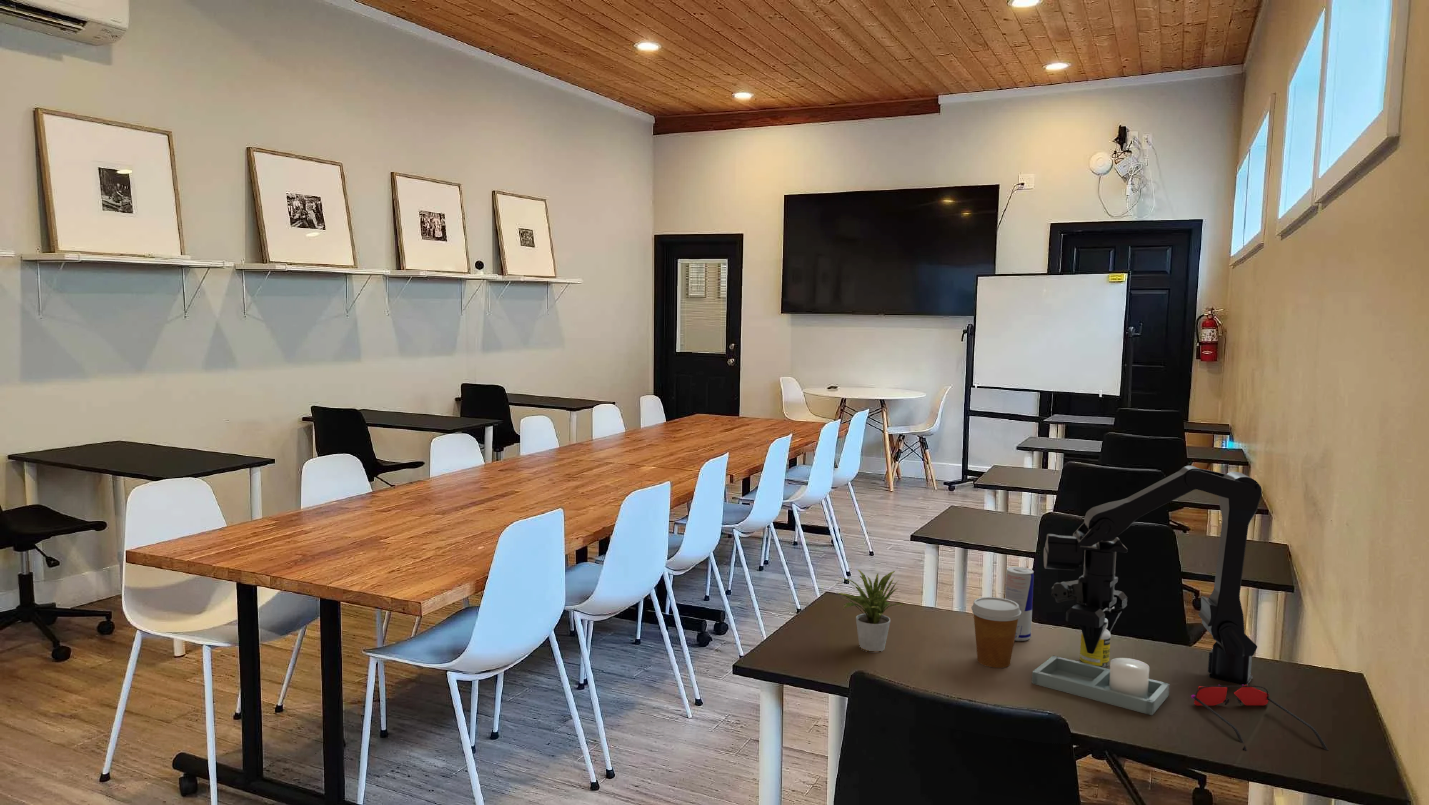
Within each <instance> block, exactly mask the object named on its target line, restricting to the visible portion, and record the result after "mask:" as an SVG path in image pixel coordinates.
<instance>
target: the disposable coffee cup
mask: <svg viewBox="0 0 1429 805" xmlns="http://www.w3.org/2000/svg"><path fill="white" fill-rule="evenodd" d="M972 603H973V604H972V605H971V611H972V614H973V625H974V633H975V634H974V635H975V636H974V637H975V645H976V657H977V662H978V663H979V664H981V665H983V666H986V667H989V668H995V669H997V668H998V669H1002V668H1003V669H1004V668H1007V667H1010V665H1011V662H1012V661H1011V660H1012V656H1013V650H1014V644H1015V634H1016V629H1017V623H1018V618H1019V617H1020V615H1021V611H1020V609H1019V605H1018V604H1017V603H1016V602H1014V601H1011V600H1008V599H1005V597H1004V598H1003V597H994V596H984V597H979V598H976V599H974V600H973V602H972Z"/></svg>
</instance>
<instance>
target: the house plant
mask: <svg viewBox="0 0 1429 805" xmlns="http://www.w3.org/2000/svg"><path fill="white" fill-rule="evenodd" d="M856 570H857V571H858V572H859V574H860V575H859V577H860V579H861V580H862V582H863V586H864V589H865V591H866V593H867V594H866V593H865V592H864V590H863V589H862V588H861V586H859V585H858V584H857V582H855V581H853V580H852V579H849V578H845V577H840V576H839V578H840V579H843V580H847V583H849V584H850V583H851V586H853V587H855V589H856V590H857V591H858V593H859V595H856V596H855V595H853V594H850V593H844V592H837V594H838V595H840V596H843V597H844V599H845V600H847V601H849V602H845V603H844V604H843V609H847V608H850V607H854V606H855V608H856V609H858V610H859V611H860V612H861V614H857V615H856V616H855V622H856V628H857V629H856V630H857V637H858V645H860V646H859V648H860V647H861V648H863V649H866V650H869V651H881V652H883V650H884V651H885V647H886V643H887V638H888V634H889V631H890V630H889V629H890V624H891V618H890V617H889V616H887V615H885V614H884V612H885V611H886V610H888V609H889V608H890V607H892V606H896V605H900V606H903V603H894V604H891V602H889V601H888V600H890V599H891V596H892V594H894V592H896V591H897V590H898V589H899V587H897V588H895V586H896V584H898V582H899V580H897V581H896V582H895V583H894V584H893V582H894V579H895V575H894V576H893V578H892V579H891V577H892V575H893V574H894V573H895V572H896V570H893V571H890V572H889V573H887V574H885V575H884V576H883V577H882V578H880V581H879V573H876V575H875V579H874V581H873V582H872V580H871V578H870V577H869V576H867V575H865V573H863V572H862V571H861V570H860V569H858V568H856ZM890 579H891V580H890ZM848 581H849V582H848ZM853 584H854V585H853ZM887 584H888V585H887ZM892 584H893V585H892ZM894 588H895V589H894ZM889 589H890V590H889ZM888 591H889V592H888ZM840 599H842V597H840ZM859 607H860V608H859ZM861 609H862V610H861Z"/></svg>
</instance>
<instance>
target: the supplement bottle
mask: <svg viewBox="0 0 1429 805" xmlns="http://www.w3.org/2000/svg"><path fill="white" fill-rule="evenodd" d="M1104 622H1106V623H1107V625H1106V627H1105V630H1104V632H1103V634H1102V636H1101V638H1100V640H1099V643H1098V645H1097V647H1096V649H1095V651H1094V653H1093V654H1090V653H1088V652H1087V649H1086V645H1085V641H1084V637H1083V634H1082V631H1080V632H1081V634H1080V646H1079V647H1080V650H1079V662H1082V663H1086V664H1091V665H1095V666H1099V667H1103V668H1107V667H1109V666H1110V651H1111V638H1112V636H1111V631H1110V632H1109V631H1108V630H1107V629H1106V628H1107V626H1108V619H1106V618H1105V620H1104Z"/></svg>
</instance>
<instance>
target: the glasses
mask: <svg viewBox="0 0 1429 805" xmlns="http://www.w3.org/2000/svg"><path fill="white" fill-rule="evenodd" d="M1228 688H1238V689H1237V690H1236V691H1234V692H1233V695H1235V696H1236V697H1237V698H1236V701H1237V703H1238V705H1240V706H1242V704H1244V705H1245V706H1266V705H1267V704H1269V702H1270V703H1271V704H1273V705H1275V706H1276V707H1278V708H1279V709H1280V710H1282V711H1284V712H1285V713H1287V714H1288V715H1290V716H1291V717H1292V718H1294V719H1296V720H1298V721H1299V722H1300V723H1302V724H1303V725H1304V726H1307V727H1308V728H1309V729H1310V730H1311V731H1312V732H1313V733H1314V735H1315V737H1316V738H1317V740H1318V741H1319V743H1320V745H1321V747H1322V749H1324V750H1325V751H1326V752H1327V751H1329V748H1328V747H1327V745H1326V743H1325V742H1324V740H1323V739H1322V737H1321V735H1320V734H1319V732H1318V731H1317V730H1316V729H1315V728H1314V726H1312V725H1311V724H1309V723H1308V722H1306V721H1305V720H1303V719H1301V718H1300V717H1298V716H1297V715H1295V714H1294V713H1292V712H1291V711H1289V710H1288V709H1287V708H1286V707H1284V706H1282V705H1280V704H1279V703H1278V702H1276V701H1274V700H1273V699H1271V698H1270V693H1269V691H1268V689H1267V688H1265V687H1264V686H1261V685H1249V684H1248V685H1246V684H1245V685H1220V684H1218V685H1205V686H1202V685H1201V686H1200V685H1198V688H1197V690H1196V692H1195V694H1191V696H1190V697H1191V699H1193V700H1194V701H1193V704H1194V705H1195V706H1203V707H1204V708H1206V710H1209V711H1210V712H1211V713H1212V714H1214V715H1215V716H1216V717H1218V718H1219V719H1220V720H1222V721H1223V722H1224V723H1225V724H1227V725H1228V726H1229V727H1231V728H1232V730H1233V731H1234V732H1235V734H1236V736H1237V739H1238V740H1239V742H1240V743H1241V744H1244V743H1245V742H1244V740H1243V737H1242V736H1241V733H1240V732H1239V730H1238V729H1237V727H1236V726H1235V725H1234V724H1232V723H1231V722H1229V721H1228V720H1227V719H1226V718H1224V717H1223V716H1221V715H1220V714H1219V713H1218V712H1216V711H1215V710H1213V709H1212V708H1211V707H1210V706H1216V705H1220V704H1222V703H1223V704H1224V706H1227V705H1228V704H1229V702H1230V698H1227V692H1228ZM1258 688H1261V689H1263V690H1264V691H1262V690H1260V689H1258ZM1265 691H1266V692H1265ZM1241 702H1242V703H1241ZM1242 750H1243V751H1244V750H1245V752H1247V751H1248V749H1247V746H1246V745H1244V746H1243V748H1242Z"/></svg>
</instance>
